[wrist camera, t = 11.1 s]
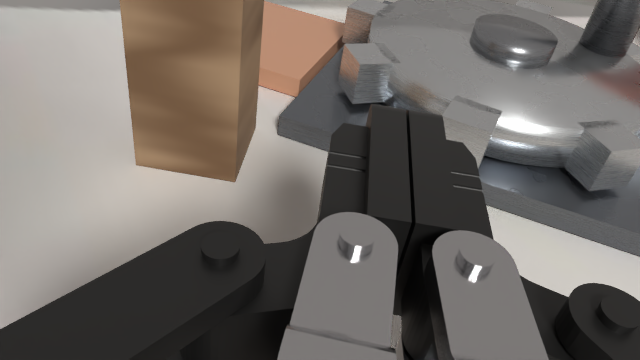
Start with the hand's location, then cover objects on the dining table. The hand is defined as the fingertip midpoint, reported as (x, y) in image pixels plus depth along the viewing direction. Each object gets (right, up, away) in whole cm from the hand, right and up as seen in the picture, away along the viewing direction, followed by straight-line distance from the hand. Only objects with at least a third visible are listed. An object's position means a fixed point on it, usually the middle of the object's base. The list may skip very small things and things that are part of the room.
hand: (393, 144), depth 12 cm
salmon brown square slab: (-5, +7, +19) cm, 21 cm away
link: (-7, +1, +11) cm, 13 cm away
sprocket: (+8, +4, +17) cm, 19 cm away
